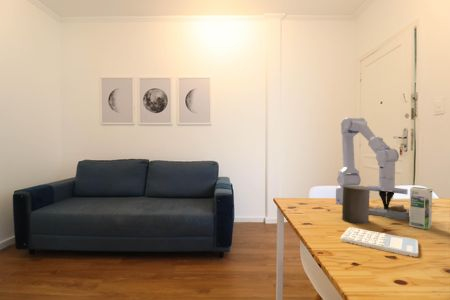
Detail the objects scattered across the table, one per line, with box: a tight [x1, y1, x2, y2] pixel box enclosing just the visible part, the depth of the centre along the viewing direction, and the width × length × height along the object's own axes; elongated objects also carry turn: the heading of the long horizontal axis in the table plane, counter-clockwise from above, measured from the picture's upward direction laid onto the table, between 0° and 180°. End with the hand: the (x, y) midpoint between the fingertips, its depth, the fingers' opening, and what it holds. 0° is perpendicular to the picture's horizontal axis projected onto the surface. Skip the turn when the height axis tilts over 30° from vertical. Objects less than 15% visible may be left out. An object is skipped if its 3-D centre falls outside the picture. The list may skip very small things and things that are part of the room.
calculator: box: [340, 226, 419, 258], centre depth 81 cm, size 13×20×2 cm, turn 53°
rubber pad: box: [374, 205, 385, 210], centre depth 120 cm, size 7×7×1 cm
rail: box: [369, 206, 410, 222], centre depth 110 cm, size 18×8×4 cm, turn 54°
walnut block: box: [389, 204, 406, 212], centre depth 107 cm, size 4×4×4 cm
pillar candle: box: [341, 183, 371, 225], centre depth 103 cm, size 10×10×15 cm
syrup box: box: [409, 186, 433, 231], centre depth 96 cm, size 6×6×14 cm
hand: (386, 209), depth 109 cm, fingers closed
